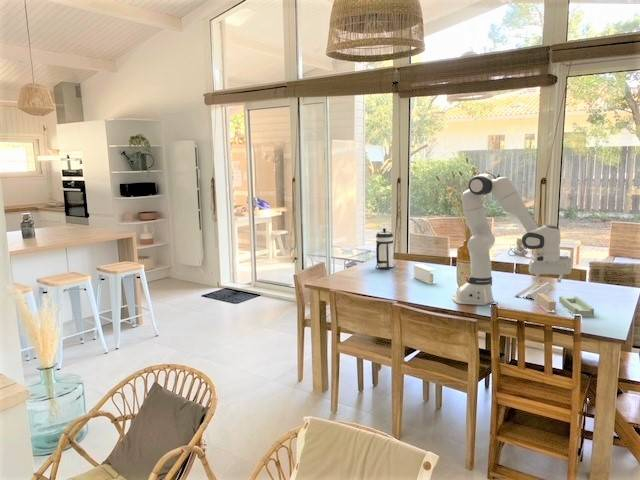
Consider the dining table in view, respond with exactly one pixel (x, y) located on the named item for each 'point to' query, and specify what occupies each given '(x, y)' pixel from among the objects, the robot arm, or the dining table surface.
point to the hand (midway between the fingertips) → (549, 282)
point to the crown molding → (533, 294)
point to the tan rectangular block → (546, 301)
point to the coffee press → (384, 249)
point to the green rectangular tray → (577, 306)
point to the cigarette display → (423, 273)
